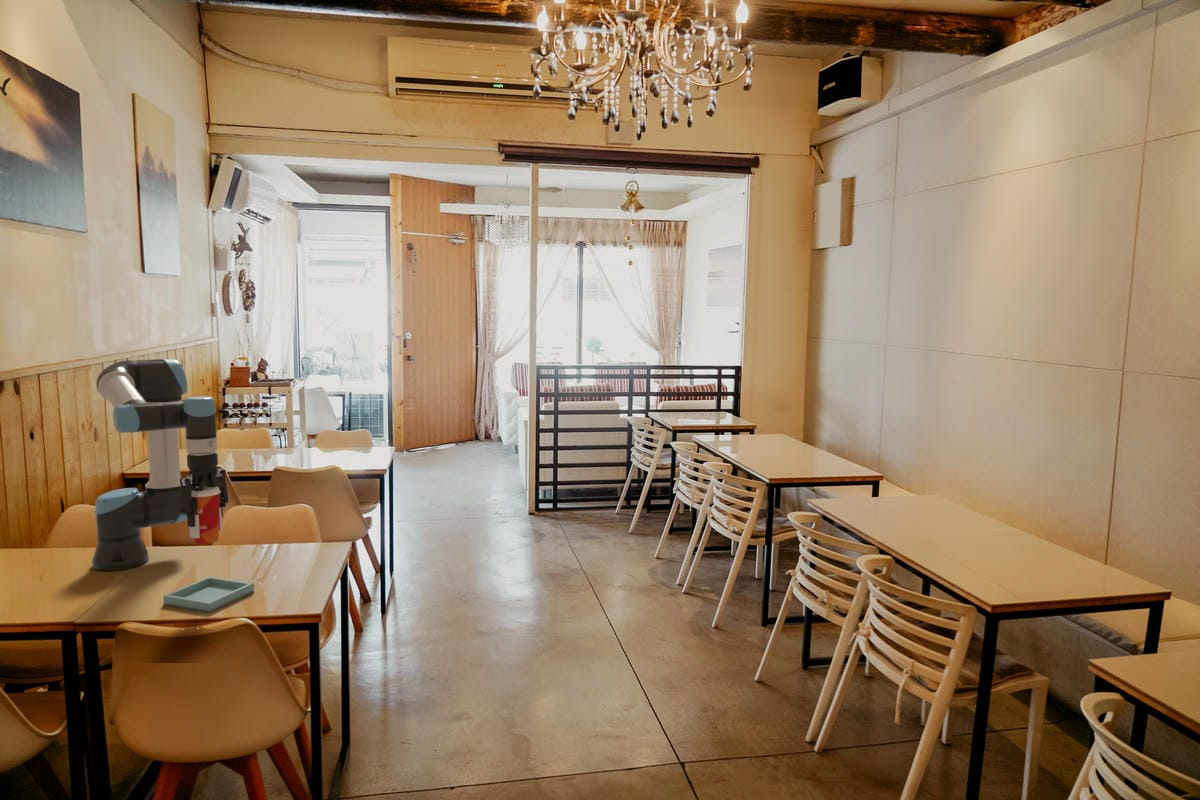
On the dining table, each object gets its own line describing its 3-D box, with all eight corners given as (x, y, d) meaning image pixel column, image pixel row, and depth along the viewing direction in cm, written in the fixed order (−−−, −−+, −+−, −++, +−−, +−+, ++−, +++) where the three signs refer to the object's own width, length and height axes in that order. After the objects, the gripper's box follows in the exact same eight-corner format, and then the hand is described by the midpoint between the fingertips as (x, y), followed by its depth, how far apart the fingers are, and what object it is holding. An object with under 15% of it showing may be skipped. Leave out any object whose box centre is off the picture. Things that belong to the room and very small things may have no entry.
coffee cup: (185, 540, 209) (183, 487, 207) (217, 534, 214) (214, 483, 213) (195, 547, 203) (192, 493, 201) (227, 541, 209) (224, 488, 207)
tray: (163, 604, 206) (163, 595, 205) (210, 584, 221) (209, 576, 220) (209, 612, 201) (209, 603, 200) (254, 591, 216) (253, 583, 216)
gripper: (182, 460, 195) (187, 545, 198) (240, 447, 214) (244, 525, 217) (160, 458, 197) (165, 542, 200) (220, 445, 216) (223, 522, 219)
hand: (206, 533), depth 208 cm, fingers closed on coffee cup, 7 cm apart
